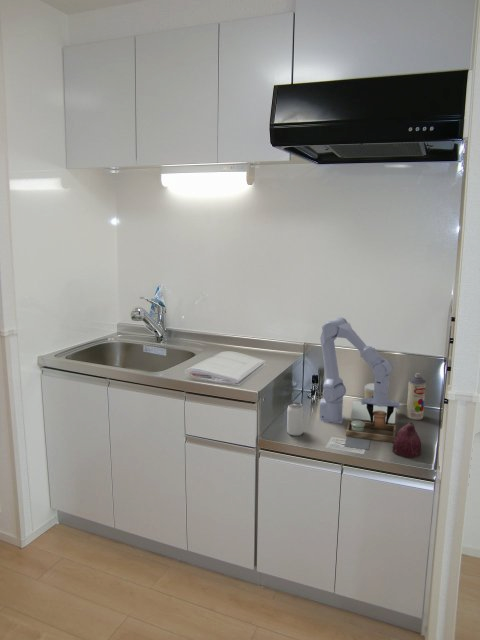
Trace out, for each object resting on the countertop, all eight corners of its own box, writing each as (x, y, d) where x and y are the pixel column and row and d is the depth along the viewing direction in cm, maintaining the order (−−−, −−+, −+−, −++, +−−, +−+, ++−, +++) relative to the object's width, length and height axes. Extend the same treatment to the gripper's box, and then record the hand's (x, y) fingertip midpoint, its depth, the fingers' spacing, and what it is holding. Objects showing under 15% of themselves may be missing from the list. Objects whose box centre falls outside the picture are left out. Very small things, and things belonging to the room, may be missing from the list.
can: (294, 427, 206) (294, 400, 203) (306, 432, 202) (306, 404, 199) (283, 432, 202) (284, 405, 199) (296, 437, 197) (296, 409, 194)
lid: (353, 400, 215) (353, 401, 215) (350, 418, 207) (350, 418, 207) (396, 405, 210) (395, 406, 210) (394, 423, 202) (394, 424, 202)
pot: (372, 428, 198) (372, 415, 196) (373, 422, 202) (373, 410, 201) (386, 429, 196) (386, 416, 195) (386, 423, 201) (386, 411, 200)
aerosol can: (412, 421, 210) (415, 377, 205) (403, 415, 216) (405, 371, 212) (426, 419, 212) (429, 375, 207) (416, 413, 218) (419, 370, 214)
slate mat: (344, 447, 189) (344, 446, 189) (346, 438, 196) (346, 436, 196) (368, 450, 186) (368, 449, 186) (370, 441, 193) (370, 440, 193)
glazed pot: (350, 434, 198) (350, 425, 197) (351, 429, 203) (351, 419, 202) (363, 436, 196) (364, 427, 195) (365, 430, 201) (365, 421, 200)
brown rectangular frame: (345, 437, 197) (346, 424, 196) (351, 417, 215) (351, 405, 214) (394, 443, 191) (395, 430, 190) (396, 422, 209) (396, 410, 208)
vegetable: (421, 467, 180) (431, 436, 173) (392, 461, 182) (401, 430, 174) (418, 447, 189) (428, 416, 182) (390, 442, 191) (399, 411, 184)
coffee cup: (374, 418, 214) (375, 392, 211) (358, 410, 222) (359, 385, 219) (389, 413, 219) (391, 387, 216) (374, 406, 227) (375, 381, 224)
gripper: (361, 392, 194) (359, 424, 197) (400, 396, 190) (397, 429, 193) (363, 386, 201) (361, 417, 204) (400, 390, 196) (398, 421, 199)
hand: (379, 422), depth 199 cm, fingers closed on pot, 5 cm apart
